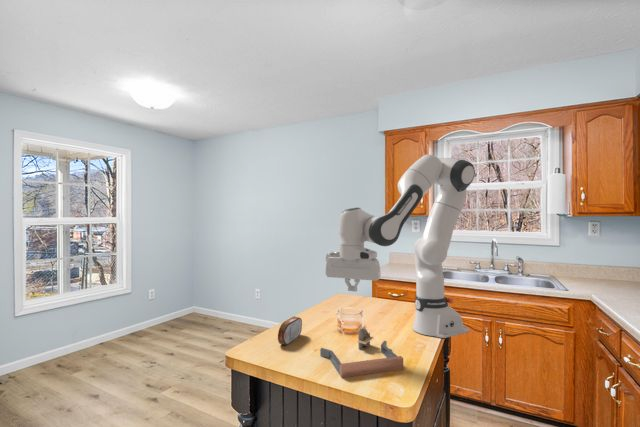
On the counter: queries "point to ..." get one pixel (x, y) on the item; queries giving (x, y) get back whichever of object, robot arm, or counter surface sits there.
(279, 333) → the tin
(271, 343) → the counter surface
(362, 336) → the grey irregular piece
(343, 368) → the brown drawer handle
